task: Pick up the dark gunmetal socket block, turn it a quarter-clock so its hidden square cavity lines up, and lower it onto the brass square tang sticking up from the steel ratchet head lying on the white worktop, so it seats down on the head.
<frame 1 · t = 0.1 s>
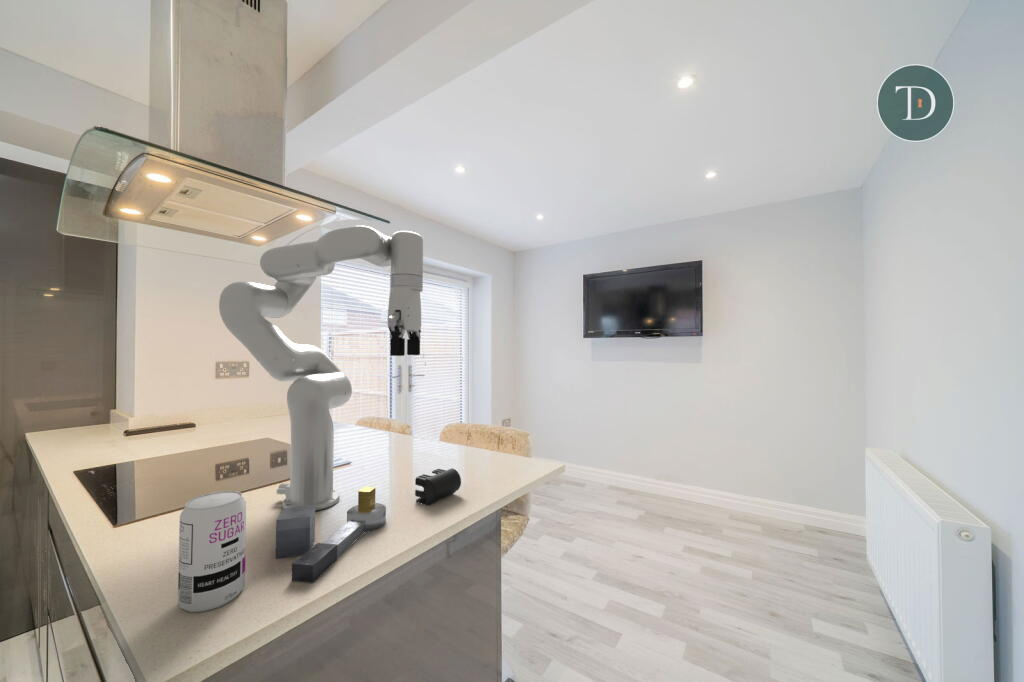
hand: (405, 355, 95), 37 cm above the counter, tool pointing down, fingers open, 9 cm apart
ratchet: (366, 523, 86), on the counter
supplement can: (212, 598, 61), on the counter
socket: (295, 549, 75), on the counter
end cap: (438, 500, 101), on the counter
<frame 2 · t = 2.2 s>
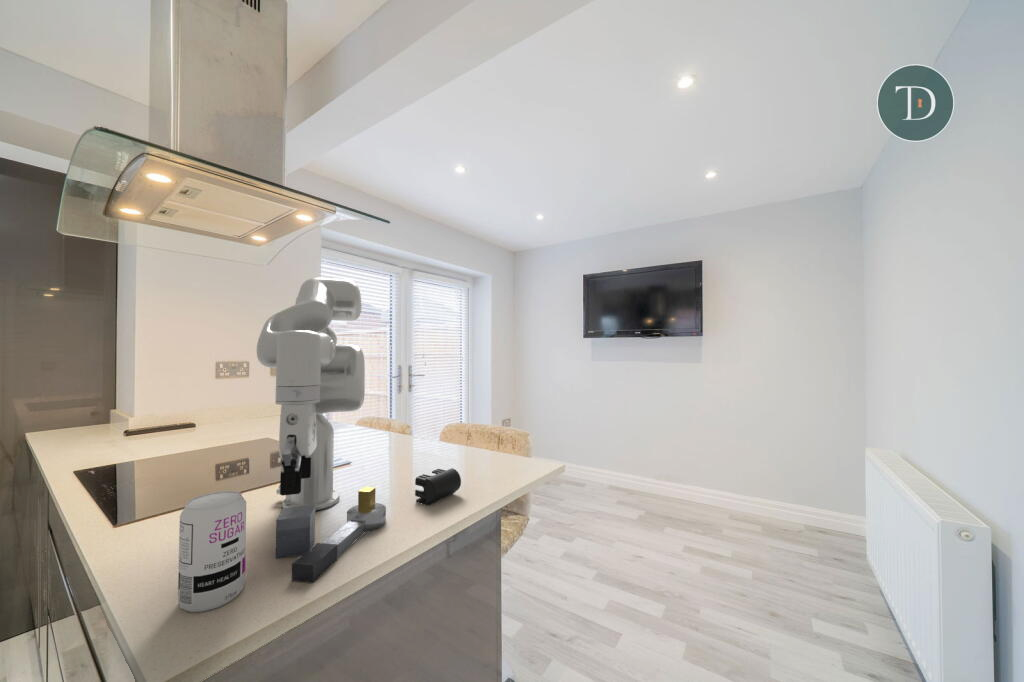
hand: (296, 485, 75), 12 cm above the counter, tool pointing down, fingers open, 9 cm apart
nothing on the counter moved.
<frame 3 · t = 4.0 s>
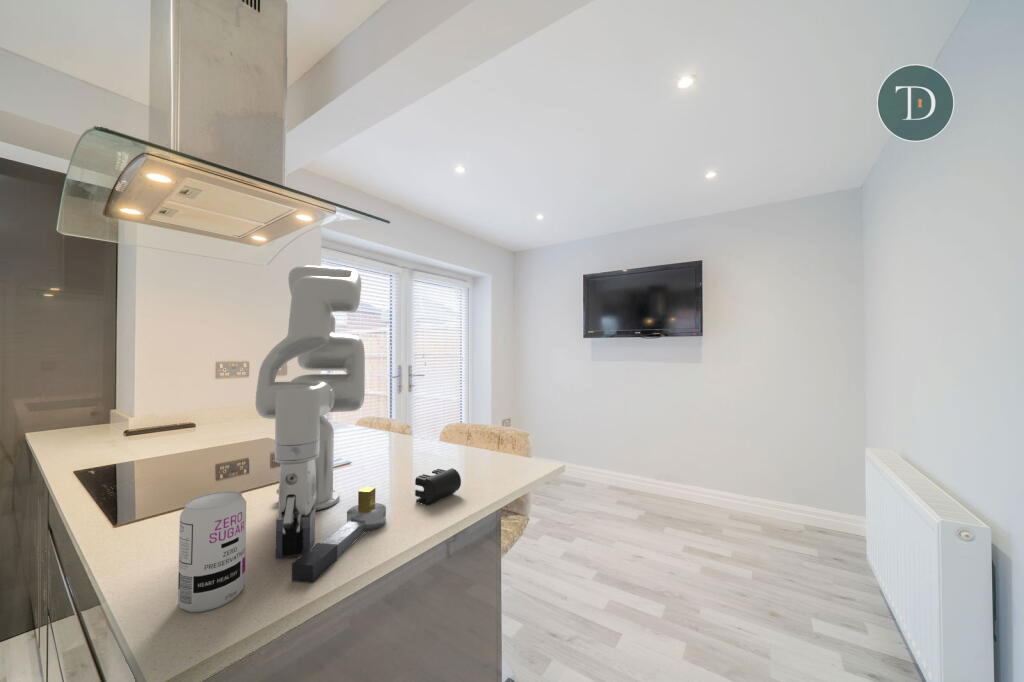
hand: (296, 544, 75), 1 cm above the counter, tool pointing down, fingers closed on socket, 5 cm apart
socket: (295, 549, 75), on the counter, touching gripper
everything else where it was.
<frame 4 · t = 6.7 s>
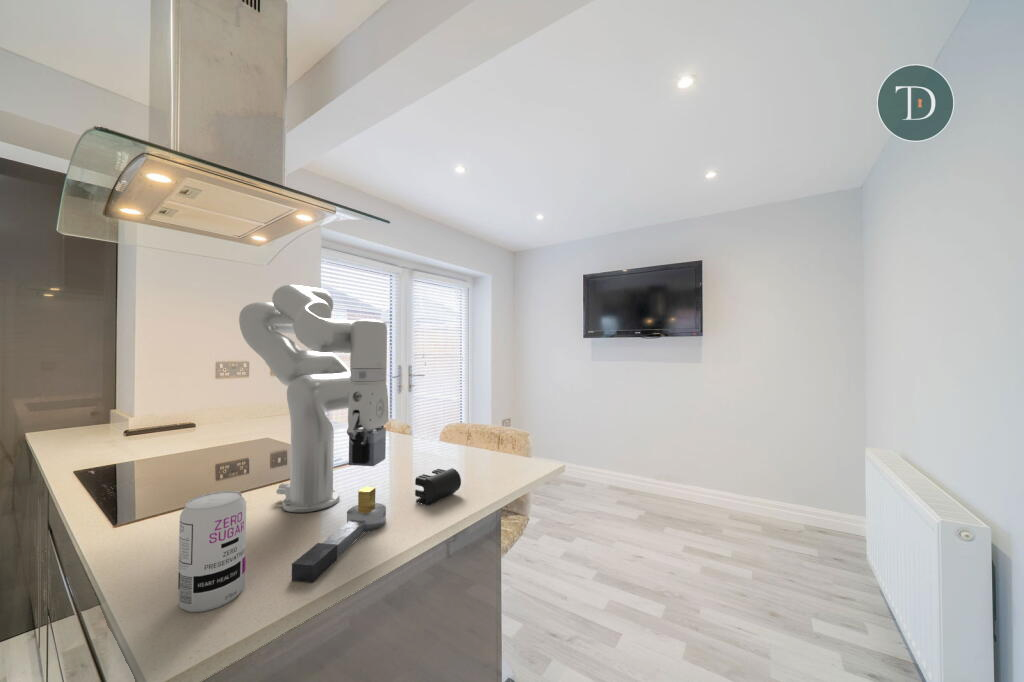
hand: (367, 458, 86), 14 cm above the counter, tool pointing down, fingers closed on socket, 5 cm apart
socket: (367, 461, 86), point 13 cm above the counter, touching gripper
everything else where it was.
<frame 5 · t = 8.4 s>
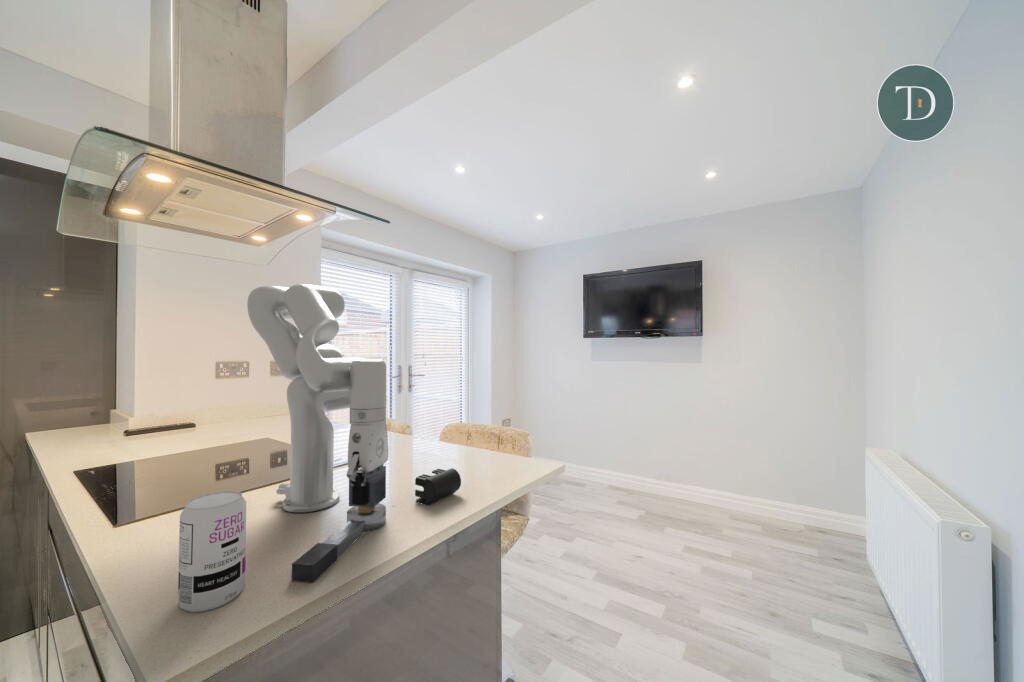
hand: (367, 497, 86), 6 cm above the counter, tool pointing down, fingers closed on socket, 5 cm apart
socket: (367, 501, 86), point 5 cm above the counter, touching gripper
everything else where it was.
when the fingers open (4 cm above the counter, at t = 9.7 s): socket stays where it is, resting on ratchet.
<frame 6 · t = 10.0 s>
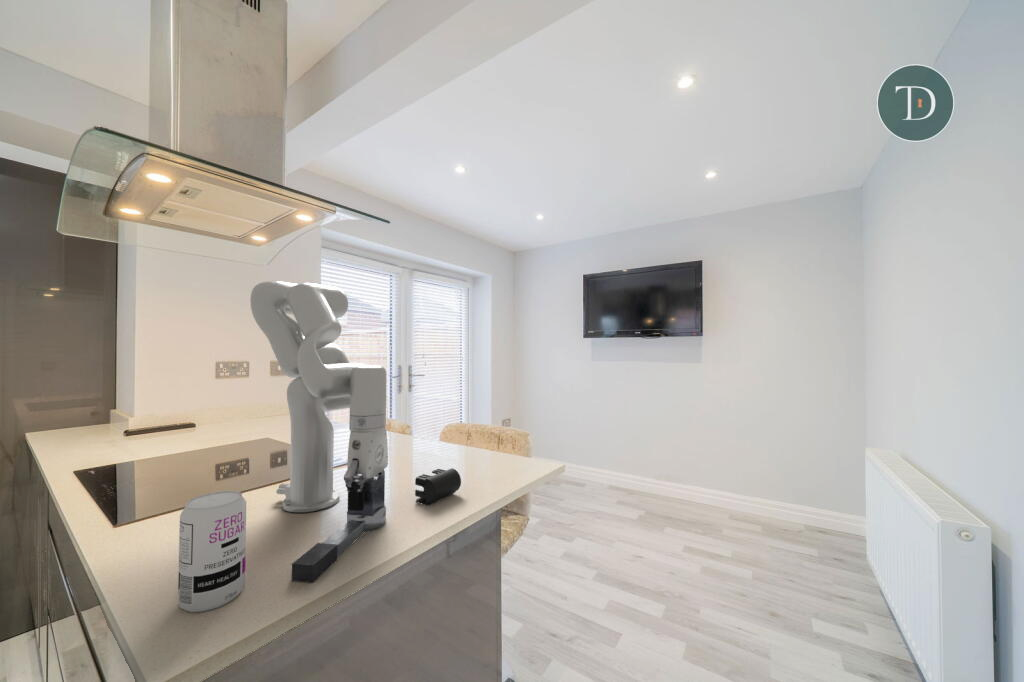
hand: (366, 501, 86), 5 cm above the counter, tool pointing down, fingers open, 8 cm apart
socket: (366, 509, 86), point 3 cm above the counter, touching ratchet
everything else where it was.
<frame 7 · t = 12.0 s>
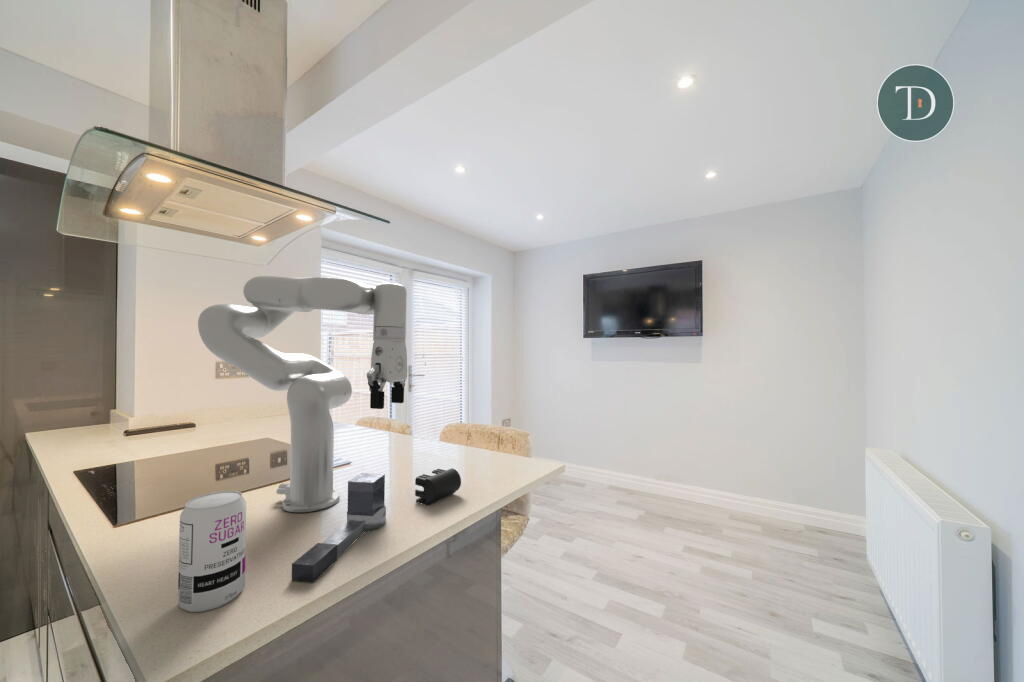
hand: (387, 405, 95), 24 cm above the counter, tool pointing down, fingers open, 9 cm apart
nothing on the counter moved.
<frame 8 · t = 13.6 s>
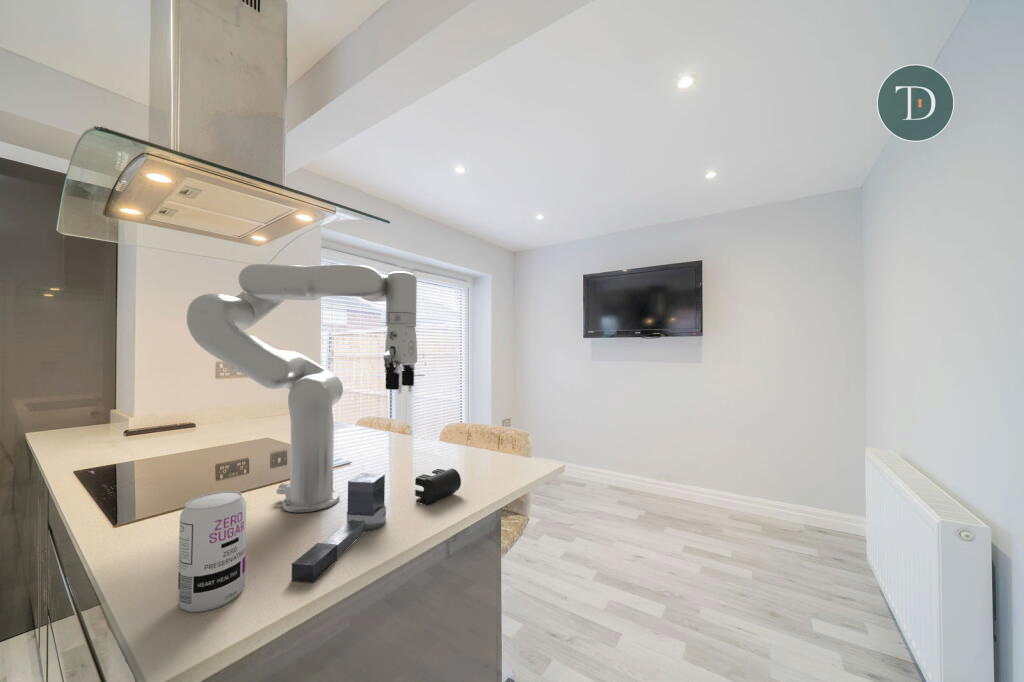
hand: (400, 387, 101), 28 cm above the counter, tool pointing down, fingers open, 9 cm apart
nothing on the counter moved.
at the end: socket 0.1 cm off-centre on the ratchet, point 3.0 cm above the ratchet's base; socket tilted 0°; the gripper is holding nothing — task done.
